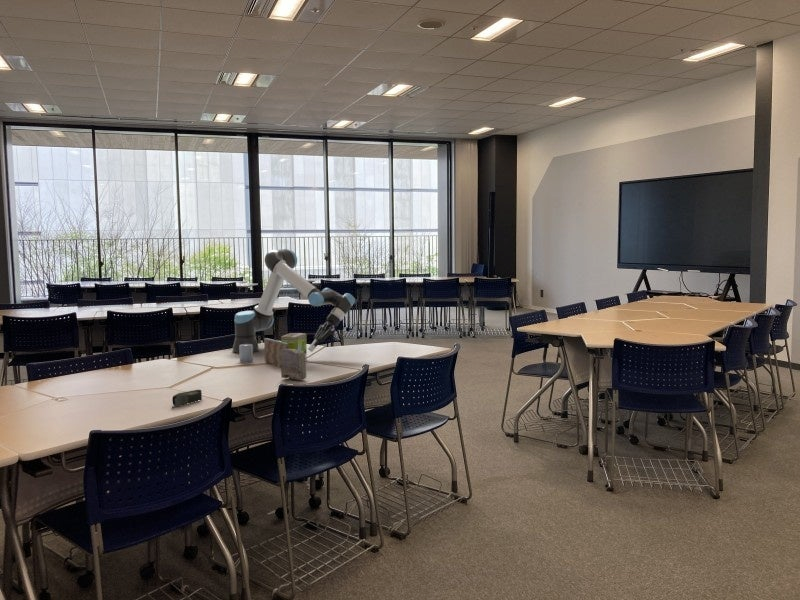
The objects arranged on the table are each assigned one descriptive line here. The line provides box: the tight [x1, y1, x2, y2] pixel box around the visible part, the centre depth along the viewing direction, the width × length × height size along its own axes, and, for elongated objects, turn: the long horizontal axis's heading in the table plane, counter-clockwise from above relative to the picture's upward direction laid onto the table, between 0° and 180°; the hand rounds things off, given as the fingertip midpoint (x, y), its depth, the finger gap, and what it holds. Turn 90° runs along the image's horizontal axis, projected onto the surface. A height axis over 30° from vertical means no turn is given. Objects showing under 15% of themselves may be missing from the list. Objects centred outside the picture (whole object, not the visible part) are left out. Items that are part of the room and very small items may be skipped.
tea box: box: [280, 332, 308, 361], centre depth 338 cm, size 15×10×15 cm
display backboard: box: [263, 337, 289, 367], centre depth 329 cm, size 24×2×13 cm, turn 39°
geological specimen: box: [280, 349, 307, 381], centre depth 292 cm, size 11×6×15 cm, turn 61°
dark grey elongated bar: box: [171, 389, 203, 409], centre depth 251 cm, size 5×3×15 cm
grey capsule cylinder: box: [239, 344, 254, 363], centre depth 340 cm, size 7×7×9 cm
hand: (310, 350), depth 342 cm, fingers closed
